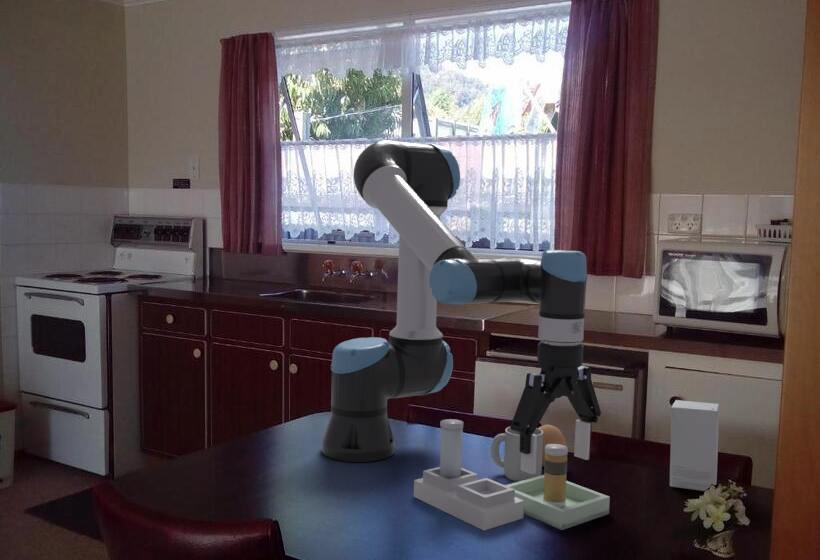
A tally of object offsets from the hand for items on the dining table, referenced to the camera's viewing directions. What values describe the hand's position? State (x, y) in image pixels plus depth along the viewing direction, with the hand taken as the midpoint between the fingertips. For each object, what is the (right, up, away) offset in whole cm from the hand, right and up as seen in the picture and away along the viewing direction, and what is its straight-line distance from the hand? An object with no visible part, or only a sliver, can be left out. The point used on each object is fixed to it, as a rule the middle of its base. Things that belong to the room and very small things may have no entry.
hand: (555, 464), depth 133 cm
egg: (+3, -6, +23) cm, 24 cm away
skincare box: (+29, -8, +14) cm, 33 cm away
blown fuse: (0, -7, +1) cm, 7 cm away
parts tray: (0, -8, +1) cm, 8 cm away
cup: (-5, -6, +18) cm, 19 cm away
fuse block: (-15, -7, 0) cm, 17 cm away
